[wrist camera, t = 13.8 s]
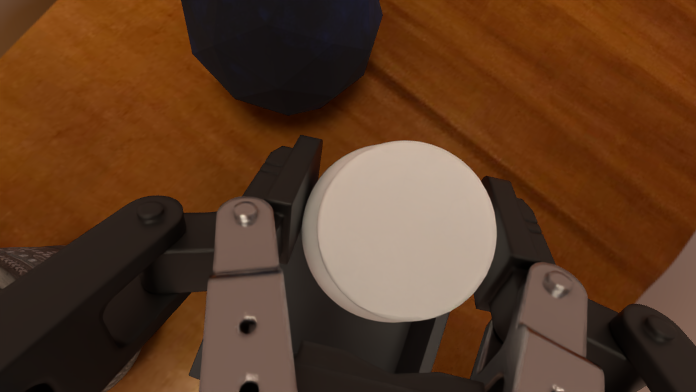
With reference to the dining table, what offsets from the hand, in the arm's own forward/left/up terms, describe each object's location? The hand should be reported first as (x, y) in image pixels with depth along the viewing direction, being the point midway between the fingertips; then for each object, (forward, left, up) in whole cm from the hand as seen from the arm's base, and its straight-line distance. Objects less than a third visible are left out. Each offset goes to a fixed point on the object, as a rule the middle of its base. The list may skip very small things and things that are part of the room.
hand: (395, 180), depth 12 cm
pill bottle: (0, +2, -6) cm, 6 cm away
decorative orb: (+11, -12, -20) cm, 26 cm away
